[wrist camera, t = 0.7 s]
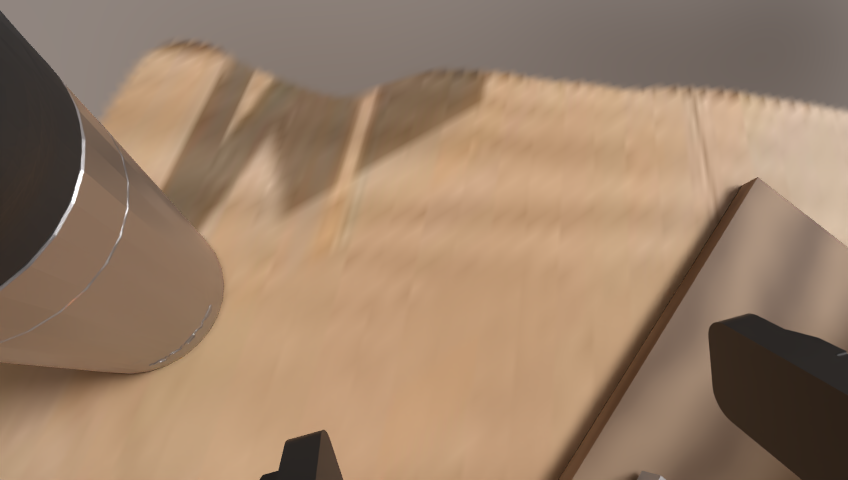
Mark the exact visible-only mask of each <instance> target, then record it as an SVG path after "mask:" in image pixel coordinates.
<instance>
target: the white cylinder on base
mask: <svg viewBox="0 0 848 480" xmlns="http://www.w3.org/2000/svg"><path fill="white" fill-rule="evenodd" d="M637 480H666V479H664V478H663V477H662V476H661V475H657V474H653V473H649V472H645V471H642V472H641V474H640V475H639V477H638V479H637Z"/></svg>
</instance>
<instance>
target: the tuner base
mask: <svg viewBox="0 0 848 480" xmlns="http://www.w3.org/2000/svg"><path fill="white" fill-rule="evenodd" d="M747 313H752V314H755V315H758V316H760V317H762V318H764V319H766V320H768V321H770V322H772V323H774V324H776V325H778V326H780V327H782V328H783V329H787V330H791V331H795V332H799V333H802V334H806V335H810V336H814V337H818V338H820V339H823V340H825V341H827V342H829V343H831V344H833V345H835V346H837V347H839V348H841V349H843V350H845V351H846V352H847V354H848V247H847V246H846V245H844V244H843V243H842V242H840V241H839V240H838V239H837V238H835V237H834V236H833V235H831V234H830V233H829V232H828V231H826V230H825V229H824V228H822V227H821V226H820V225H819V224H817V223H816V222H815V221H813V220H812V219H811V218H810V217H808V216H807V215H806V214H804V213H803V212H802V211H801V210H799V209H798V208H797V207H795V206H794V205H793V204H792V203H790V202H789V201H788V200H786V199H785V198H784V197H783V196H781V195H780V194H779V193H778V192H776V191H775V190H774V189H772V188H771V187H770V186H769V185H767V184H766V183H765V182H763V181H762V180H761V179H760V178H758V177H757V178H755V179H753V180H751V181H750V182H748V183H746V184H744V185H742V187H741V188H740V190H739V192H738V193H737V195H736V196H735V198H734V200H733V201H732V203H731V204H730V206H729V208H728V209H727V211H726V212H725V214H724V216H723V217H722V219H721V220H720V222H719V224H718V225H717V227H716V228H715V230H714V232H713V233H712V235H711V236H710V238H709V240H708V241H707V243H706V244H705V246H704V248H703V249H702V251H701V252H700V254H699V256H698V257H697V259H696V260H695V262H694V264H693V265H692V267H691V268H690V270H689V272H688V273H687V275H686V276H685V278H684V280H683V281H682V283H681V284H680V286H679V288H678V289H677V291H676V292H675V294H674V296H673V297H672V299H671V300H670V302H669V304H668V305H667V307H666V308H665V310H664V312H663V313H662V315H661V316H660V318H659V320H658V321H657V323H656V324H655V326H654V328H653V329H652V331H651V332H650V334H649V336H648V337H647V339H646V340H645V342H644V344H643V345H642V347H641V348H640V350H639V352H638V353H637V355H636V356H635V358H634V360H633V361H632V363H631V364H630V366H629V368H628V369H627V371H626V372H625V374H624V376H623V377H622V379H621V380H620V382H619V384H618V385H617V387H616V389H615V390H614V392H613V393H612V395H611V397H610V398H609V400H608V401H607V403H606V405H605V406H604V408H603V409H602V411H601V413H600V414H599V416H598V417H597V419H596V421H595V422H594V424H593V425H592V427H591V429H590V430H589V432H588V433H587V435H586V437H585V438H584V440H583V441H582V443H581V445H580V446H579V448H578V449H577V451H576V453H575V454H574V456H573V457H572V459H571V461H570V462H569V464H568V465H567V467H566V469H565V470H564V472H563V473H562V475H561V477H560V478H559V480H637V479H638V477H639V475H640V474H641V472H642V471H645V472H649V473H653V474H657V475H661V476H662V477H663V478H664V479H666V480H801V479H800V478H799V477H798V476H797V475H795V474H794V473H793V472H792V471H791V470H789V469H788V468H787V467H786V466H784V465H783V464H782V463H781V462H780V461H778V460H777V459H776V458H775V457H774V456H772V455H771V454H770V453H769V452H767V451H766V450H765V449H764V448H763V447H761V446H760V445H759V444H758V443H757V442H755V441H754V440H753V439H752V438H750V437H749V436H748V435H747V434H746V433H744V432H743V431H742V430H741V429H740V428H738V427H737V426H736V425H735V424H734V423H732V422H731V421H730V420H729V419H728V418H727V417H726V416H725V415H724V413H723V412H722V410H721V409H720V407H719V405H718V404H717V401H716V399H715V396H714V393H713V387H712V375H711V363H710V351H709V339H708V331H709V327H710V326H711V324H713V323H715V322H718V321H722V320H726V319H729V318H733V317H736V316H740V315H744V314H747Z"/></svg>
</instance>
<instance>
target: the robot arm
mask: <svg viewBox="0 0 848 480" xmlns="http://www.w3.org/2000/svg"><path fill="white" fill-rule="evenodd" d="M223 290H224V280H223V274H222V268H221V266H220V263H219V261H218V258H217V256H216V254H215V252H214V251H213V250H212V248H211V247H210V245H209V244H208V243H207V241H206V240H205V239H204V238H203V237H202V236H201V235H200V234H199V232H198V231H197V230H196V229H195V228H194V227H193V226H192V224H191V223H190V222H189V221H188V220H187V219H186V217H185V216H184V215H183V214H182V213H181V212H180V211H179V210H178V209H177V207H176V206H175V205H174V204H173V203H172V202H171V201H170V200H169V199H168V197H167V196H166V195H165V194H164V193H163V192H162V191H161V190H160V189H159V187H158V186H157V185H156V184H155V183H154V182H153V181H152V180H151V179H150V177H149V176H148V175H147V174H146V173H145V172H144V171H143V170H142V169H141V167H140V166H139V165H138V164H137V163H136V162H135V161H134V160H133V159H132V157H131V156H130V155H129V154H128V153H127V152H126V151H125V150H124V149H123V148H122V146H121V145H120V144H119V143H118V142H117V141H116V140H115V139H114V138H113V136H112V135H111V134H110V133H109V132H108V131H107V130H106V129H105V128H104V126H103V125H102V124H101V123H100V122H99V121H98V120H97V119H96V118H95V117H94V116H93V115H92V114H91V113H90V111H89V110H88V109H87V108H86V107H85V106H84V105H83V104H82V103H81V102H80V100H79V99H78V98H77V97H76V96H75V95H74V94H73V93H72V91H71V90H70V89H69V88H68V87H67V86H66V85H65V84H64V82H63V81H62V80H61V79H60V78H59V76H58V75H57V74H56V73H55V72H54V70H53V69H52V68H51V67H50V66H49V65H48V63H47V62H46V61H45V60H44V59H43V58H42V57H41V56H40V55H39V54H38V53H37V51H36V50H35V49H34V48H33V47H32V46H31V45H30V44H29V43H28V42H27V40H26V39H25V38H24V37H23V36H22V35H21V34H20V33H19V32H18V30H17V29H16V28H15V27H14V26H13V25H12V24H11V22H10V21H9V20H8V19H7V18H6V17H5V15H4V14H3V13H2V12H1V11H0V362H1V363H12V364H23V365H34V366H45V367H56V368H67V369H78V370H87V371H99V372H112V373H126V374H133V373H141V372H148V371H152V370H155V369H158V368H161V367H164V366H167V365H169V364H171V363H173V362H174V361H176V360H178V359H180V358H182V357H183V356H185V355H186V354H187V353H188V352H190V351H191V350H192V349H193V348H194V347H196V346H197V345H198V344H199V343H200V342H201V340H202V339H203V338H204V337H205V336H206V334H207V333H208V332H209V331H210V329H211V327H212V325H213V324H214V322H215V320H216V318H217V316H218V314H219V310H220V307H221V304H222V300H223ZM708 339H709V351H710V363H711V375H712V387H713V393H714V396H715V399H716V401H717V404H718V405H719V407H720V409H721V410H722V412H723V413H724V415H725V416H726V417H727V418H728V419H729V420H730V421H731V422H732V423H734V424H735V425H736V426H737V427H738V428H740V429H741V430H742V431H743V432H744V433H746V434H747V435H748V436H749V437H750V438H752V439H753V440H754V441H755V442H757V443H758V444H759V445H760V446H761V447H763V448H764V449H765V450H766V451H767V452H769V453H770V454H771V455H772V456H774V457H775V458H776V459H777V460H778V461H780V462H781V463H782V464H783V465H784V466H786V467H787V468H788V469H789V470H791V471H792V472H793V473H794V474H795V475H797V476H798V477H799V478H800V479H801V480H848V354H847V352H846V351H845V350H843V349H841V348H839V347H837V346H835V345H833V344H831V343H829V342H827V341H825V340H823V339H820V338H818V337H814V336H810V335H806V334H802V333H799V332H795V331H791V330H787V329H783V328H782V327H780V326H778V325H776V324H774V323H772V322H770V321H768V320H766V319H764V318H762V317H760V316H758V315H755V314H752V313H747V314H744V315H740V316H736V317H733V318H729V319H726V320H722V321H718V322H715V323H713V324H711V326H710V327H709V331H708ZM260 480H343V478H342V475H341V472H340V469H339V466H338V463H337V459H336V456H335V453H334V450H333V447H332V444H331V441H330V438H329V436H328V434H327V432H326V431H325V430H322V431H318V432H314V433H311V434H307V435H304V436H300V437H296V438H293V439H289V440H287V441H286V442H285V445H284V449H283V454H282V458H281V462H280V466H279V471H276V472H272V473H269V474H265V475H263V476H262V477H261V478H260Z"/></svg>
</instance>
